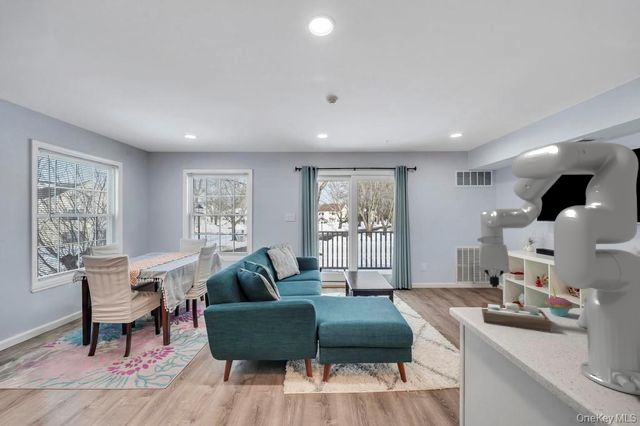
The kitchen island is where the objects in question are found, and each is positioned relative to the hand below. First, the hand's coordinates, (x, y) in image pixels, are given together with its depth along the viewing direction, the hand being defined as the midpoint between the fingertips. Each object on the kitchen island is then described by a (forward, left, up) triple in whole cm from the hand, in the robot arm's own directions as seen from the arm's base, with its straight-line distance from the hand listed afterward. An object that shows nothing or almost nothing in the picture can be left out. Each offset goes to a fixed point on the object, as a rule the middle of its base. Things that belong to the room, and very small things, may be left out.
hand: (494, 286), depth 109 cm
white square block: (+1, 0, -10) cm, 10 cm away
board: (-1, -6, -13) cm, 14 cm away
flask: (+5, -30, -13) cm, 33 cm away
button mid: (+1, -6, -9) cm, 11 cm away
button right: (+1, -12, -9) cm, 15 cm away
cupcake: (+17, -24, -13) cm, 32 cm away
